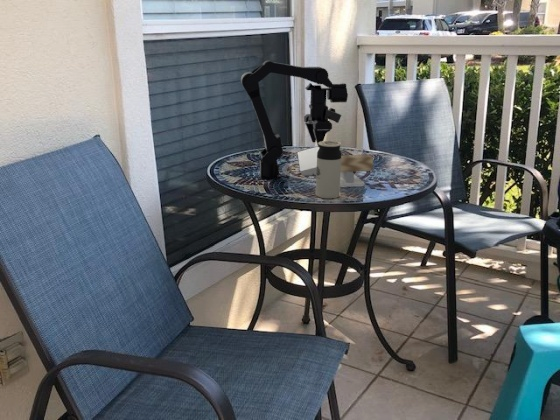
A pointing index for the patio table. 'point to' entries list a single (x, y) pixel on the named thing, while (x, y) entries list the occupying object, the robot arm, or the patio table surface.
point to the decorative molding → (308, 161)
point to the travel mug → (328, 169)
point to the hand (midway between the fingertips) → (316, 144)
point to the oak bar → (356, 163)
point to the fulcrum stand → (350, 180)
